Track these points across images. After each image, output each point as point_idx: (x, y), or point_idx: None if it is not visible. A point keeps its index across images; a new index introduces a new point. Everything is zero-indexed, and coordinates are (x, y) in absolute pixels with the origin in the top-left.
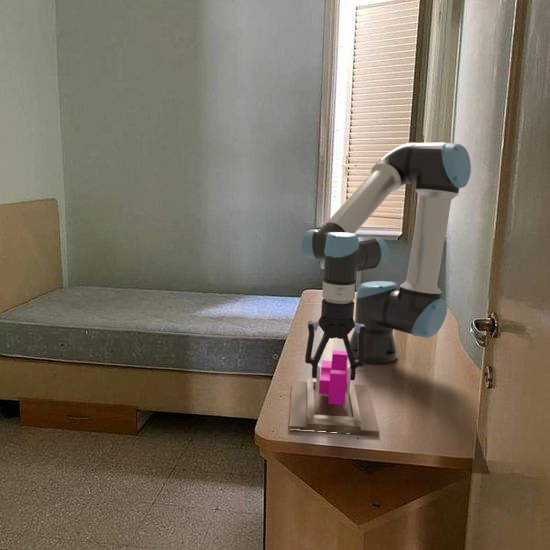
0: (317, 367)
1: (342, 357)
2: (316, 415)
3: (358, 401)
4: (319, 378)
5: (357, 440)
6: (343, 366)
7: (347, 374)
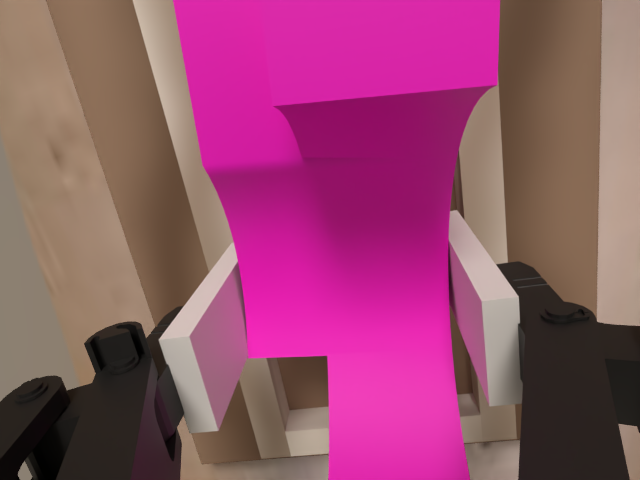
0: (192, 432)
1: (418, 97)
2: (297, 434)
3: (509, 156)
4: (242, 364)
5: (484, 458)
6: (426, 138)
7: (473, 360)
